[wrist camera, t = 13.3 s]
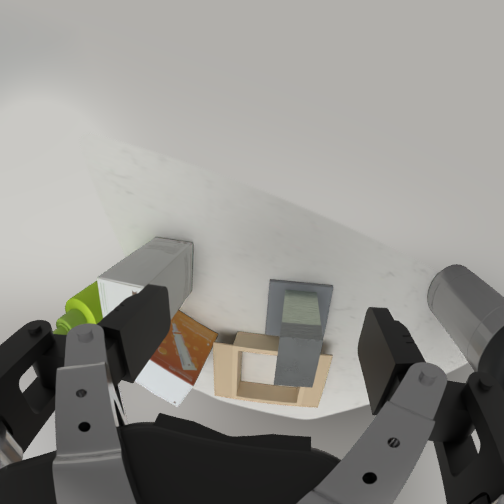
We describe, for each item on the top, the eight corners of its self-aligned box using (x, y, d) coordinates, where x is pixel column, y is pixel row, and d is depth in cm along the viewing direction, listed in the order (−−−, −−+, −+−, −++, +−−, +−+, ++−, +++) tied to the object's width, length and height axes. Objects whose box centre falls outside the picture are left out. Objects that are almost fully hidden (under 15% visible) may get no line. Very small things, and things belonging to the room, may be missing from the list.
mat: (332, 285, 40) (333, 287, 39) (322, 337, 42) (322, 340, 42) (270, 279, 41) (269, 281, 40) (265, 331, 44) (265, 334, 43)
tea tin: (317, 291, 40) (323, 340, 28) (310, 333, 42) (312, 387, 30) (284, 289, 40) (279, 336, 29) (280, 330, 42) (273, 384, 31)
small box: (219, 333, 45) (194, 387, 33) (203, 356, 47) (178, 409, 35) (176, 307, 45) (140, 353, 32) (163, 332, 47) (129, 379, 35)
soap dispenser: (109, 258, 44) (25, 310, 25) (142, 272, 44) (63, 337, 25) (107, 287, 46) (32, 346, 27) (138, 302, 46) (68, 371, 27)
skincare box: (156, 236, 42) (93, 272, 27) (196, 242, 41) (145, 285, 26) (156, 286, 44) (103, 337, 29) (194, 293, 43) (150, 352, 29)
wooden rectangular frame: (330, 340, 42) (332, 356, 39) (317, 392, 46) (317, 407, 42) (219, 328, 45) (213, 342, 41) (220, 380, 48) (214, 395, 45)
